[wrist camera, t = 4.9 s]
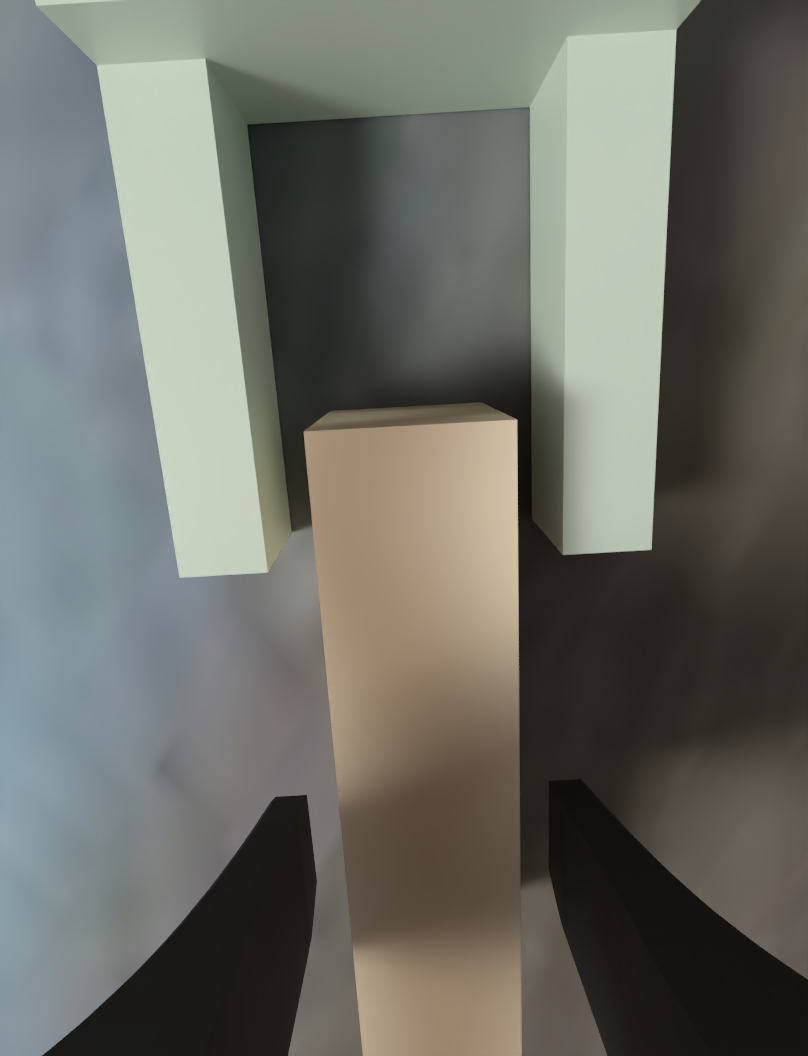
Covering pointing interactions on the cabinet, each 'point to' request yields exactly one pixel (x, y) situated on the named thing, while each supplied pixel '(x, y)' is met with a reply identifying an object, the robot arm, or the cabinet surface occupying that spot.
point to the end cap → (371, 91)
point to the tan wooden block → (425, 716)
